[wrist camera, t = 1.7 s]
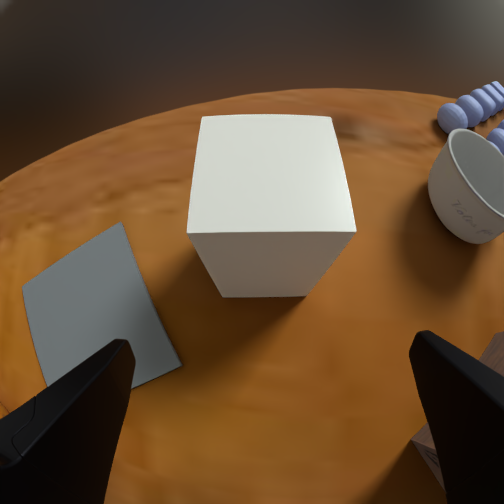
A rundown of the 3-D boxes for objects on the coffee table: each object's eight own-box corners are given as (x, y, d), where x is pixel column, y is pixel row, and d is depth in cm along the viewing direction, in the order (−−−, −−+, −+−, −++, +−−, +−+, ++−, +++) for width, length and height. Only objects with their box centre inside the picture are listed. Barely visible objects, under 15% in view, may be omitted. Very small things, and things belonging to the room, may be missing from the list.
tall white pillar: (306, 296, 22) (356, 231, 10) (222, 297, 22) (186, 233, 11) (300, 221, 24) (330, 117, 13) (224, 221, 24) (201, 116, 13)
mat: (182, 365, 20) (181, 365, 19) (62, 416, 18) (59, 416, 17) (122, 224, 24) (120, 221, 24) (24, 287, 22) (21, 286, 22)
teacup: (420, 244, 23) (468, 203, 16) (409, 158, 27) (438, 110, 19) (505, 264, 22) (549, 237, 15) (489, 188, 26) (521, 154, 18)
